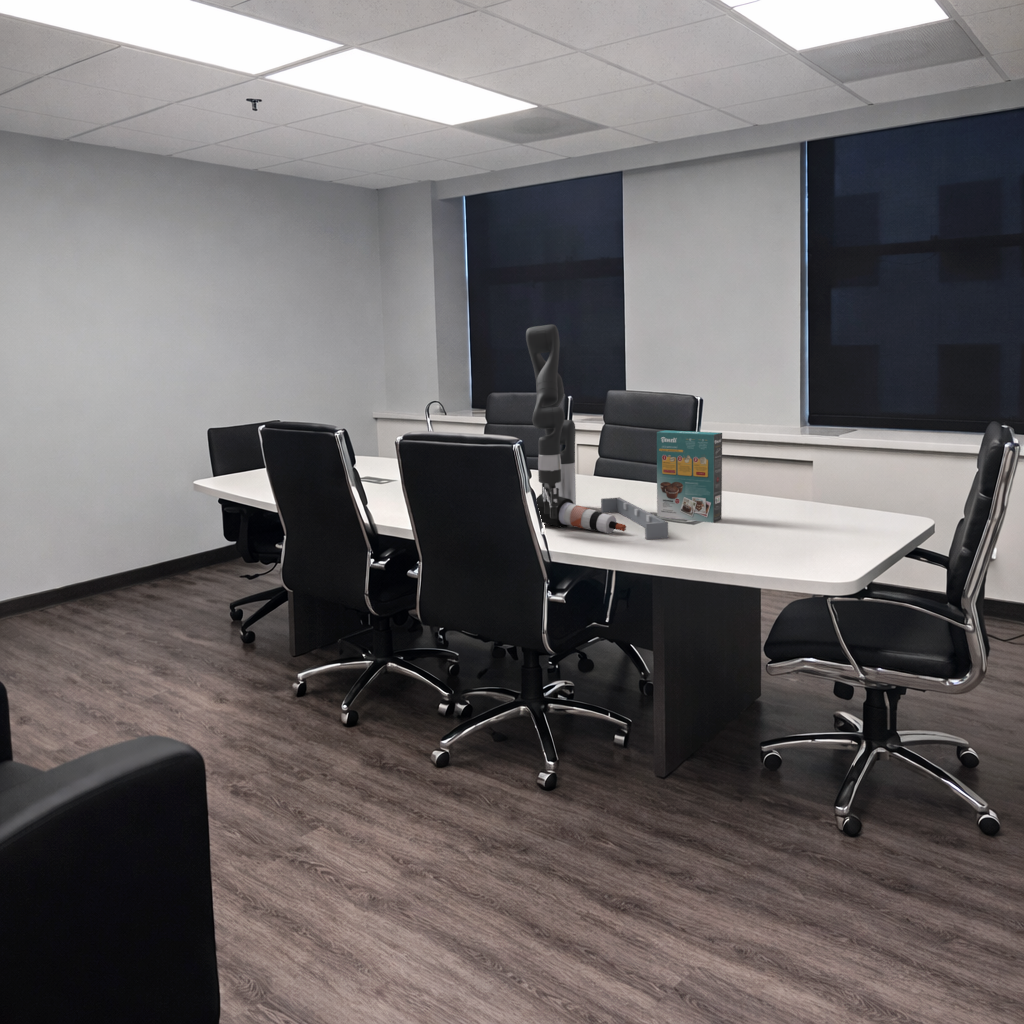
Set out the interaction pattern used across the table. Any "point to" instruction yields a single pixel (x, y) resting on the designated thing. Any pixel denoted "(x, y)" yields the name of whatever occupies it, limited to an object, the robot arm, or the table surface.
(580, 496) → the table surface
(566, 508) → the cable
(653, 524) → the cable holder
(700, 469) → the cake mix box
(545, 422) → the robot arm
